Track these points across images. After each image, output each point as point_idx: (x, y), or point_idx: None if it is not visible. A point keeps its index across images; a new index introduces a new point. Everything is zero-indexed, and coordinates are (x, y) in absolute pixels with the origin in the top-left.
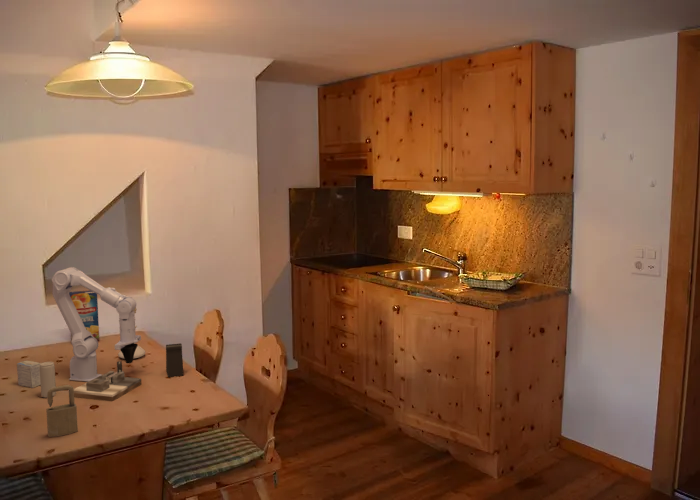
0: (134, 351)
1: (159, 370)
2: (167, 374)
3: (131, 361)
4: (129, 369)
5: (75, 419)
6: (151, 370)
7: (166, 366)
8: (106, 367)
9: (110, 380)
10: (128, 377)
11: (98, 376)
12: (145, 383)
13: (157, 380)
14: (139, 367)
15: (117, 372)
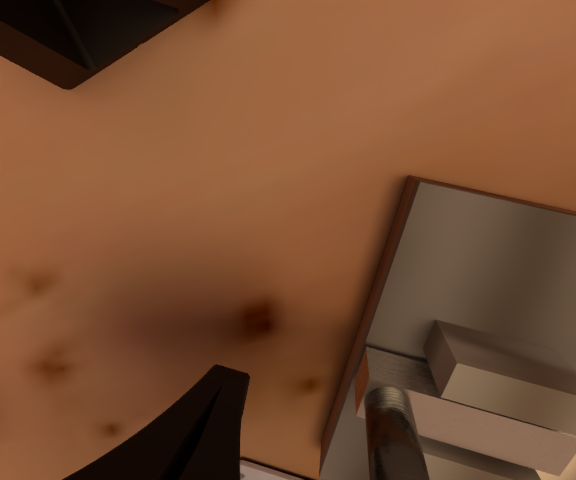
0: (123, 460)
1: (78, 150)
2: (165, 22)
3: (229, 379)
4: (110, 351)
5: None
6: (93, 210)
7: (60, 54)
8: None
9: None
10: (383, 303)
11: (273, 475)
12: (385, 148)
13: (306, 67)
14: (63, 306)
15: (420, 416)
